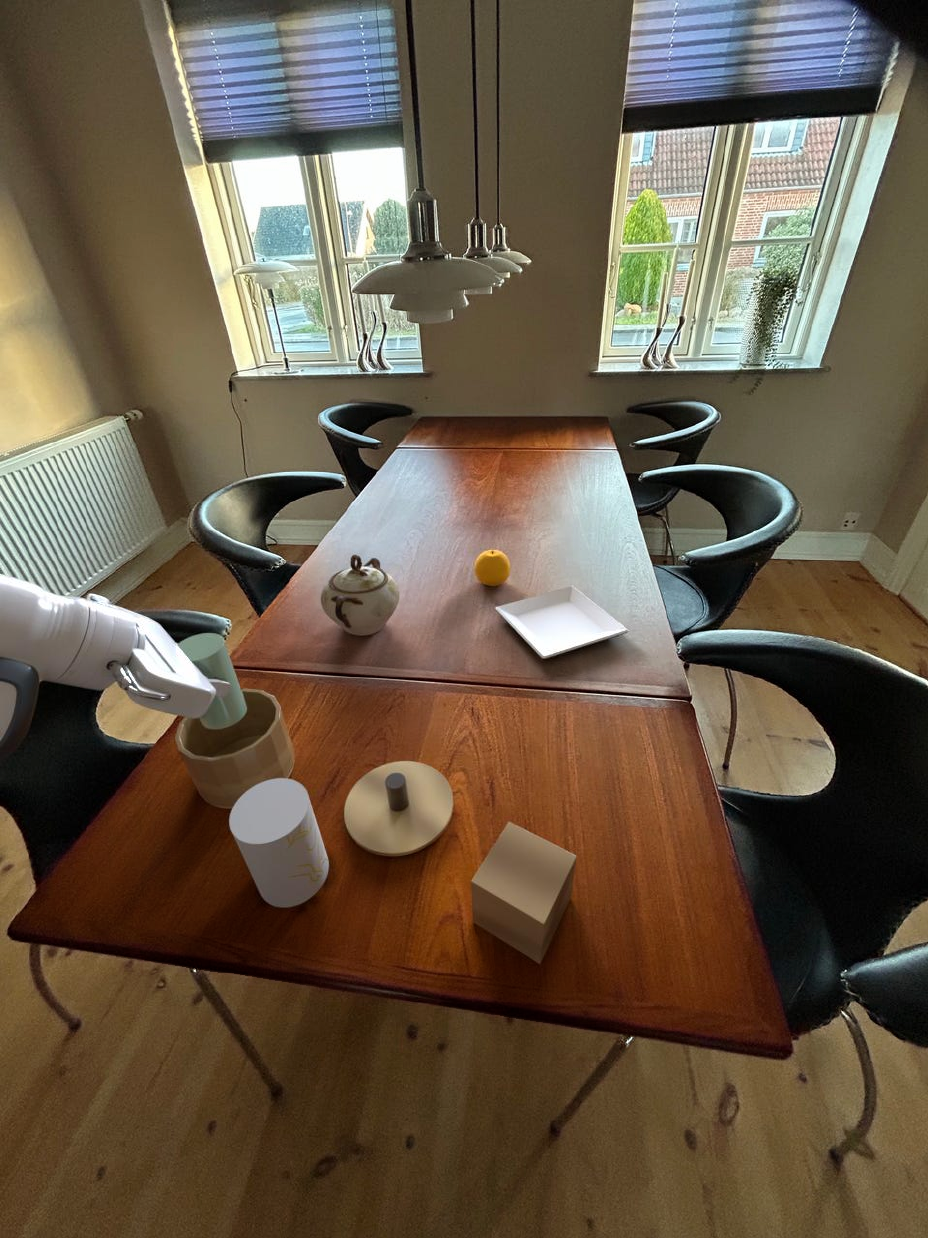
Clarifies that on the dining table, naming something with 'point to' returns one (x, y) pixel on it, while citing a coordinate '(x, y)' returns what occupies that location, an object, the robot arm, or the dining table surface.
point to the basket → (237, 751)
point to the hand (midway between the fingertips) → (215, 675)
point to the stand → (523, 890)
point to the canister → (212, 663)
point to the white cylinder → (280, 841)
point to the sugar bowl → (360, 597)
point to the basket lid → (398, 808)
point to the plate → (560, 621)
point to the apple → (492, 568)
